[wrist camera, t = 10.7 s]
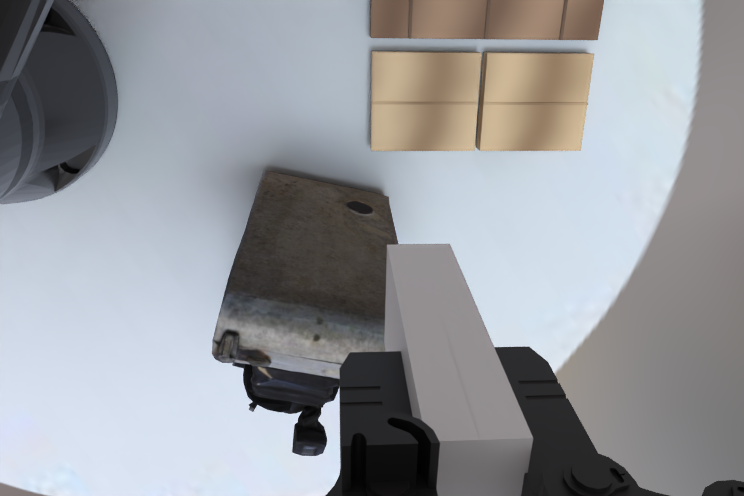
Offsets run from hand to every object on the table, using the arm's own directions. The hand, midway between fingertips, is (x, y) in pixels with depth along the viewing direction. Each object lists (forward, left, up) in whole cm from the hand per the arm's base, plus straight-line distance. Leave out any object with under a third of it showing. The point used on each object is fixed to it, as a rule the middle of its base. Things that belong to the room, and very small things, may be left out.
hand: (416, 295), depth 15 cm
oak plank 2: (+12, -1, -29) cm, 31 cm away
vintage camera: (-4, -14, -30) cm, 33 cm away
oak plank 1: (+4, -1, -29) cm, 29 cm away
